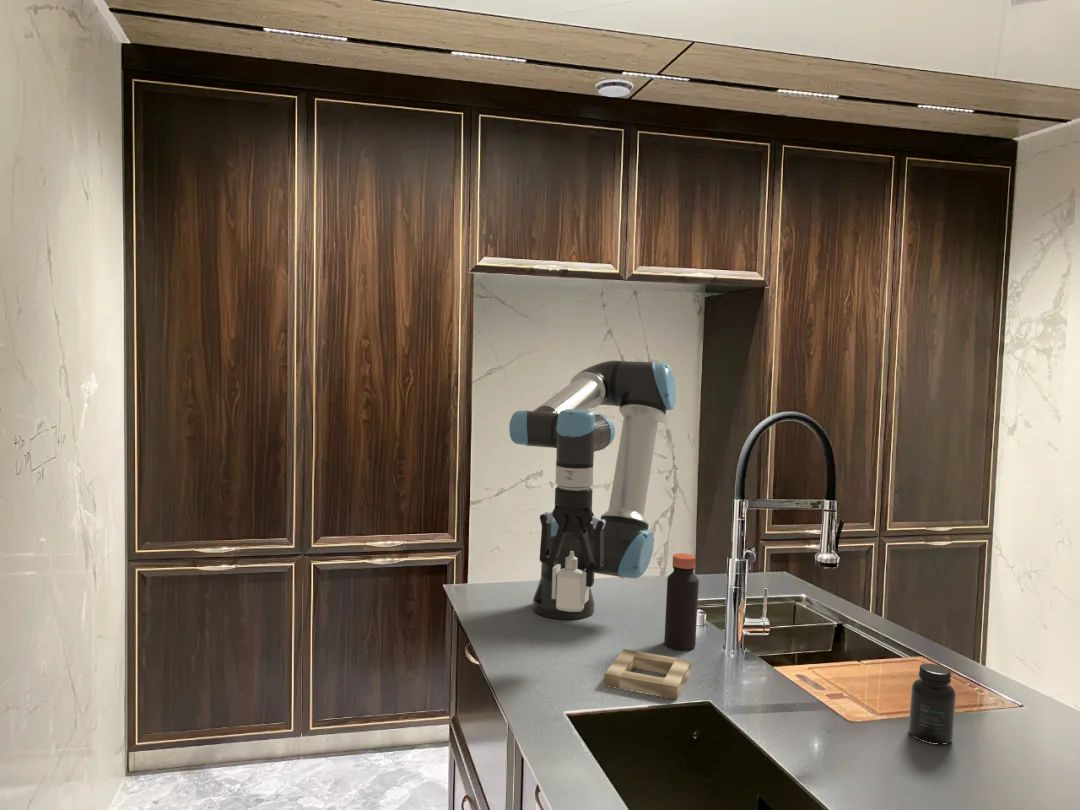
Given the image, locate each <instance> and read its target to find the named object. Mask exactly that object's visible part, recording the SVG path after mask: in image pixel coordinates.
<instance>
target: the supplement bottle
mask: <svg viewBox="0 0 1080 810" xmlns="http://www.w3.org/2000/svg"><path fill="white" fill-rule="evenodd" d="M951 676H952V671H951V670H950V669H949V668H948V667H945V666H943V665H939V664H935V663H922V664H920V666H919V672H918V677H919V678H917V679H915V680H914V681H913V682H912V685H911V690H910V691H911V692H910V693H911V694H910V707H909V708H910V709H909V719H908V721H909V723H908V731H909V733H910V735H911V734H912V735H913V736H915V737H917V738H919V739H921V740H924V741H927V742H931V743H938V744H943V743H949V742H950V743H951V742H952V741H953V738H954V728H955V726H954V725H955V712H956V700H957V697H956V696H957V694H956V690H955V689H954V687H953V686H952V685H951V683H952V677H951ZM912 735H911V736H912ZM913 736H912V737H913ZM950 743H949V744H950Z"/></svg>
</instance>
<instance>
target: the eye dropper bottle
mask: <svg viewBox="0 0 1080 810" xmlns="http://www.w3.org/2000/svg"><path fill="white" fill-rule="evenodd" d="M577 560H578V558H577V557H575V556H574V551H570V554H569V556H568V557H566V561H565V568H564V569H561V570H559V571H558V573H557V589H556V608H557V609H558V610H562V611H569V612H580V611H582V610H583V608H584V604H583V603H581V590H582V571H581V570H579V569H577Z"/></svg>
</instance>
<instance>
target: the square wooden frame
mask: <svg viewBox="0 0 1080 810" xmlns="http://www.w3.org/2000/svg"><path fill="white" fill-rule="evenodd" d="M633 668H637V669H636V670H640V669H642V670H641V671H645V670H647V671H646V672H651V671H652V672H651V673H656V672H658V673H657V674H662V675H666V676H665V677H659V676H654V675H650V674H645V673H639V672H638V673H637V672H634V671H633V670H634V669H633ZM631 671H632V672H631ZM691 673H692V660H689V659H684V658H677V657H674V656H666V655H661V654H655V653H650V652H645V651H638V650H631V649H626V648H623V649H622V651H621V652H620V653H619V655H618V656H617V657H616V659H615V660H614V661H613V662H612V664H611V665H610V666H609V667H608V669H607V670H606V671H605V672H604V682H603V686H604V685H605V686H610V687H616V688H620V689H619V690H621V689H627V690H633V691H639V692H643V693H648V694H653V695H658V696H662V697H661V698H663V697H665V698H664V699H668V698H670V699H669V700H673V699H674V700H675V701H677V700H678V698H679V697H678V696H680V695H681V693H682V691H681V690H683V689H684V687H685V685H684V684H686V683H687V681H688V679H689V677H690V675H691ZM685 682H686V683H685ZM605 686H604V687H605ZM683 686H684V687H683ZM610 687H609V688H610ZM616 688H615V689H616ZM682 688H683V689H682ZM680 692H681V693H680ZM679 694H680V695H679ZM674 700H673V701H674Z"/></svg>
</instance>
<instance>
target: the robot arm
mask: <svg viewBox="0 0 1080 810" xmlns="http://www.w3.org/2000/svg"><path fill="white" fill-rule="evenodd" d="M676 389H677V388H676V381H675V374H674V372H673V370H672V367H671V366H670V365H669V364H668V363H663V362H655V361H632V360H631V361H630V360H629V361H627V360H626V361H625V360H607V361H603V362H599V363H596V364H594V365H591V366H588V367H587V368H585V369H583V370H581V371H580V372H578V373H576V374H575V375H574V376H573V377H572V379H571V380H570V383H569V384H568V385H567V386H565V387H564V388H563V389H561V390H560V391H558V392H557V393H556V394H555V395H553V396H552V397H550V398H549V399H547V400H546V401H545V402H543V403H542V404H541V405H539V406H538V407H537V408H535V409H533V410H527V409H526V410H517V411H515V412H513V414H512V415H511V417H510V421H509V424H508V425H509V427H508V429H509V438H510V439H511V441H512V443H514V444H516V445H520V446H522V445H523V446H526V447H540V448H551V449H554V448H555V449H556V455H555V456H556V457H555V458H556V461H555V484H556V487H555V488H554V508H553V510H552V511H551V512H547V511H545V512H544V513H542V514H540V515H539V520H540V524H541V533H540V545H539V547H540V549H539V562H541V565H540V566H541V567H540V568H541V570H540V571H541V572H540V579H539V582H538V584H537V588H536V590H535V592H534V596H533V599H532V610H533V611H534V613H536V614H537V615H540V616H542V617H545V618H546V617H547V618H551V619H557V620H579V619H583V618H587V617H590V616H591V615H593V614H594V612H595V600H594V596H593V592H592V589H591V587H593V585H594V582H595V574H599V575H600V574H601V575H605V576H606V575H607V576H613V577H618V578H620V579H625V578H626V579H638V578H639V579H640V578H641V577H642V576H643V575H644V574H645V573H646V571H647V569H648V568H649V565H650V562H651V560H652V557H653V553H654V549H655V547H654V546H655V545H654V543H655V536H654V533H653V532H652V530H650V529H649V527H650V526H649V522H648V521H647V520H646V518H645V515H644V514H645V509H646V501H647V495H648V489H649V483H650V477H651V472H652V471H651V470H652V466H653V465H652V463H653V457H654V451H655V444H656V439H657V432H658V425H659V423H660V422H661V421H663V420H664V419H665V418H666V413H667V411H671V410H673V409H674V407H675V405H676V397H677V396H676V395H677V394H676V392H677V391H676ZM599 406H615V407H619V409H618V411H619V413H620V415H622V417H623V421H622V428H621V432H620V433H621V434H620V437H619V438H620V439H619V445H618V451H617V452H618V453H617V458H616V463H615V469H614V475H613V480H612V481H613V482H612V487H611V493H610V500H609V505H608V510H606V511H605V512H604V513H603V514H601V515H600V518H599V517H596V516H595V514H594V513H593V492H594V491H593V488H592V486H593V485H594V460H595V459H594V458H595V456H594V455H595V452H597V451H601V450H604V449H605V448H607V447H608V446H610V445H611V444H612V443H613V441H614V439H615V436H616V428H615V425H614V423H613V422H612V420H611V419H610V418H609V417H608V416H606V415H603V414H596V413H594V412H593V411H592V410H590V409H595V408H598V407H599ZM570 551H574V556H575V557H577V558H578V560H577V569H579V570H581V571H582V590H581V603H583V604H584V608H583V610H582V611H580V612H569V611H562V610H558V609H557V608H556V589H557V573H558V571H559V570H561V569H564V568H565V561H566V557H568V556H569V554H570Z"/></svg>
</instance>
